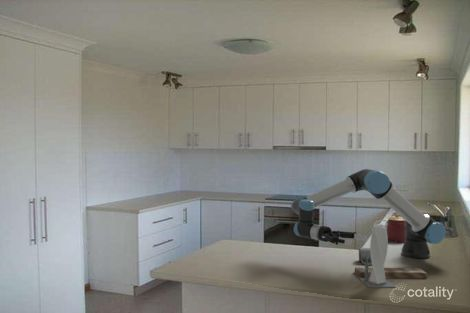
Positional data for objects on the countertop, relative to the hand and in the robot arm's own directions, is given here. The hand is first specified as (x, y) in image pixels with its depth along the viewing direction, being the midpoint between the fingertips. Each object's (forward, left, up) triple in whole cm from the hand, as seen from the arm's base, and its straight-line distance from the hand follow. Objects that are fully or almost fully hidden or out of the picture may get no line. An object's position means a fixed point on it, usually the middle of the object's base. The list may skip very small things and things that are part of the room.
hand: (359, 240), depth 213 cm
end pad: (-6, +9, -17) cm, 20 cm away
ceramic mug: (-14, -25, -18) cm, 33 cm away
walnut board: (-17, -3, -17) cm, 24 cm away
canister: (-53, -80, -17) cm, 97 cm away
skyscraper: (-6, +9, -17) cm, 20 cm away
